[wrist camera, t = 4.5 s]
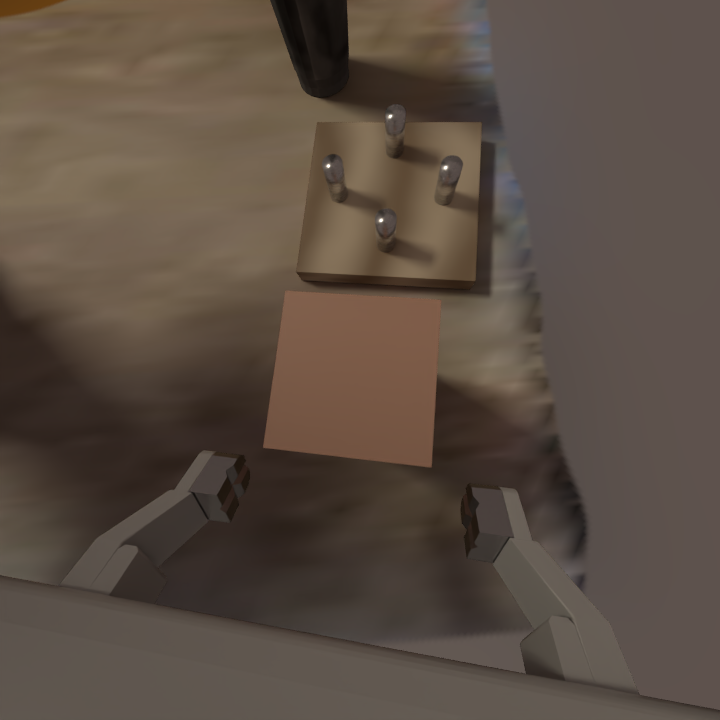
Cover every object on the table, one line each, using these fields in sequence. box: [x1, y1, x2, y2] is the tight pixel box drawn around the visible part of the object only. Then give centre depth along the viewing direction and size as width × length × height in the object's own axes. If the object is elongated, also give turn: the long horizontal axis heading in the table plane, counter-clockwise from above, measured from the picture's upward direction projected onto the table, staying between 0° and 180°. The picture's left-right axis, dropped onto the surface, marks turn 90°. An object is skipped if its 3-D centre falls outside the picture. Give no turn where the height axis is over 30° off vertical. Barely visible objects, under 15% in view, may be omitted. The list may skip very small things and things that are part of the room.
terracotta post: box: [263, 291, 441, 468], centre depth 16 cm, size 5×5×13 cm
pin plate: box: [296, 104, 482, 290], centre depth 22 cm, size 13×13×4 cm
